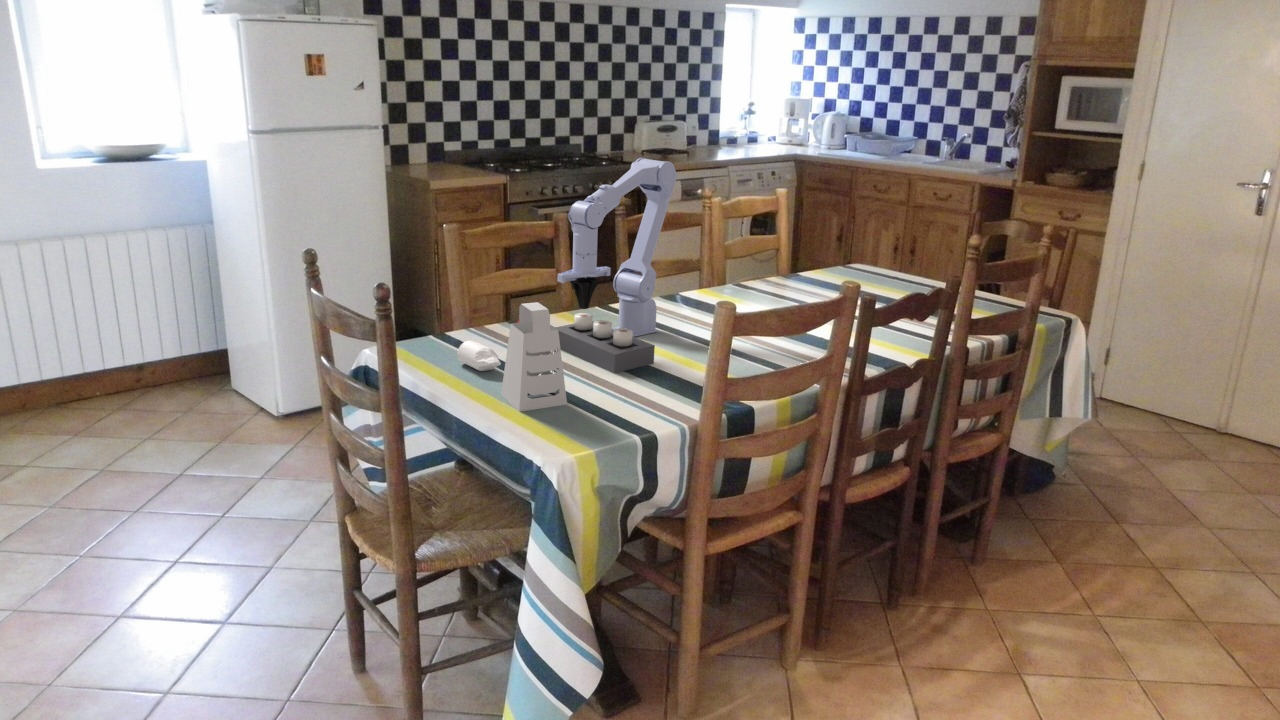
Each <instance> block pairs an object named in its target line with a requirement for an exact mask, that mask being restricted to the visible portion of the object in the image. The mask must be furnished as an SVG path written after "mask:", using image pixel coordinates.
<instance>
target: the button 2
mask: <svg viewBox="0 0 1280 720" xmlns="http://www.w3.org/2000/svg"><path fill="white" fill-rule="evenodd" d="M632 333H633V331H632V330H630V329H626V328H618V329H615V330H614V332H613V344H614V345H617V346H630V345H632Z"/></svg>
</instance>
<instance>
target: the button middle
mask: <svg viewBox="0 0 1280 720" xmlns="http://www.w3.org/2000/svg"><path fill="white" fill-rule="evenodd" d="M612 328H613V322H611V321H608V320H595V321H594V323H593V336H595V337H598V338H609V337H611V336H612Z"/></svg>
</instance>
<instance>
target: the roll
mask: <svg viewBox="0 0 1280 720" xmlns="http://www.w3.org/2000/svg"><path fill="white" fill-rule="evenodd" d="M456 353H457V354H456V355H457V356H456V357H457V359H458V361H459V362H461V363H462V364H464V365H467V366H468V367H471V368H472V369H475V370H477V371H478V372H486V371H491V370H494V369H495V368H497V367H498V366H500V365H502V362H500V360H499V355H498V354H497V353H496V352H495V350H494V349H492V348H491V347H488V346H486V345H484V344H482V343H479V342H476V341H474V340H466V341H464V342H462V343H461V344H460V345H459V347H458V349H457V352H456Z"/></svg>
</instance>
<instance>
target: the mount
mask: <svg viewBox="0 0 1280 720" xmlns="http://www.w3.org/2000/svg"><path fill="white" fill-rule="evenodd" d="M594 322H595V321H594V320H592V329H590V330H578V329H575V328H574V323H571V324H565V325H562V326H556V327H555V326H554V327H555V328H556V329H557V330H558V332H559V340H560V349H561V351H563V352H565V353H567V354H570V355H572V356H575V357H576V358H579V359H581V360H584V361H586V362H588V363H590V364H592V365H595V366H596V367H599V368H602V369H603V370H606V371H608V372H610V373H612V374H616V373H617V374H618V373H620V372H624V371H629V370H632V369H637V368H641V367H645V366H649V365H650V366H651V365H654V364H655V347H656V346H655V344H653V343H649V342H647V341H644V340H642V339H640V338H637V337H636V336H635V337H632V345H630V346H617V345H614V344H613V332H614V329H612V336H611V337H609V338H598V337H595V336H593V323H594Z"/></svg>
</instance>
